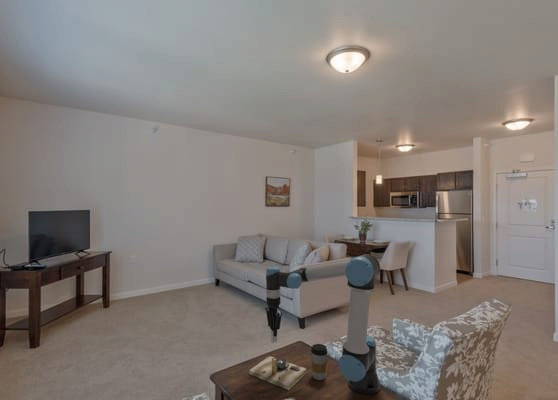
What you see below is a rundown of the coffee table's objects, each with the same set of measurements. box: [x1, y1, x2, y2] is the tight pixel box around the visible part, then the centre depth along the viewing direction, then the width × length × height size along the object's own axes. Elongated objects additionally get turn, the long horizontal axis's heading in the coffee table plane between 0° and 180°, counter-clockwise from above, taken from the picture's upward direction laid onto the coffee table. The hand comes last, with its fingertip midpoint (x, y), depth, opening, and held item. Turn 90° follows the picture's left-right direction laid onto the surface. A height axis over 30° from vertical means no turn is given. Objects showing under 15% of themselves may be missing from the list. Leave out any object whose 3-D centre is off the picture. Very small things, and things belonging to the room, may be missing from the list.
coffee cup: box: [310, 343, 328, 381], centre depth 150 cm, size 8×8×15 cm
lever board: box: [248, 355, 308, 391], centre depth 153 cm, size 24×18×4 cm
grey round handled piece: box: [272, 357, 289, 375], centre depth 153 cm, size 14×9×7 cm, turn 153°
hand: (274, 341), depth 156 cm, fingers closed
